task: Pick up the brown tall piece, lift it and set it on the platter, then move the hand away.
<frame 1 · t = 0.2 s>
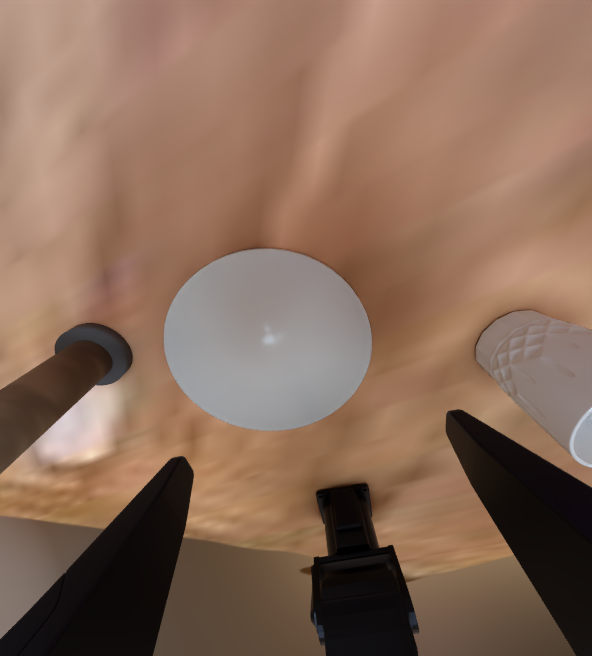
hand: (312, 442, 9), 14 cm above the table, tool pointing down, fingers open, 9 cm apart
white cup: (509, 341, 25), on the table
platter: (270, 349, 24), on the table
brown tall piece: (99, 351, 24), on the table
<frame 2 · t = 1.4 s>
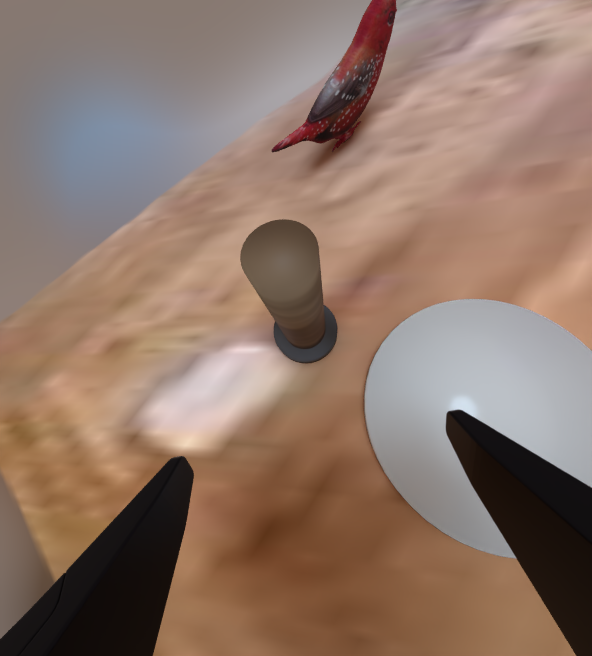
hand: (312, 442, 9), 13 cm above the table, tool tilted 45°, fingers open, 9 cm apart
platter: (482, 411, 20), on the table
decorative bird figurine: (334, 153, 30), on the table
brown tall piece: (306, 332, 24), on the table
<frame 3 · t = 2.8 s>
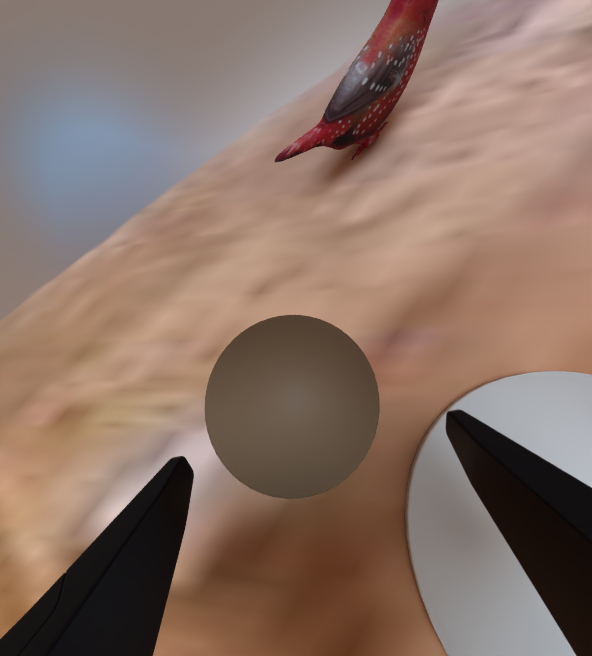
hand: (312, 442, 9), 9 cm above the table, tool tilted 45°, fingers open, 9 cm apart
platter: (586, 547, 14), on the table
decorative bird figurine: (354, 161, 24), on the table
brown tall piece: (320, 408, 18), on the table
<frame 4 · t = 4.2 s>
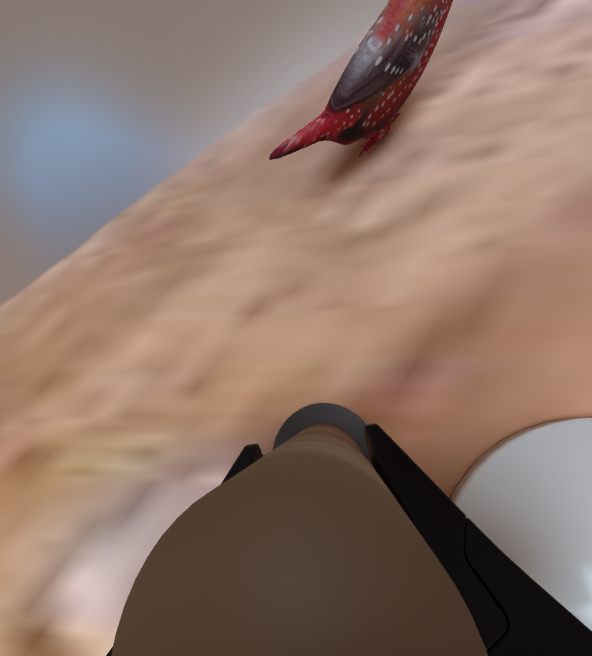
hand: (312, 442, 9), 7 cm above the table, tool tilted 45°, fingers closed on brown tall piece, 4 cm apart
decorative bird figurine: (361, 158, 21), on the table
brown tall piece: (325, 455, 15), on the table, touching gripper
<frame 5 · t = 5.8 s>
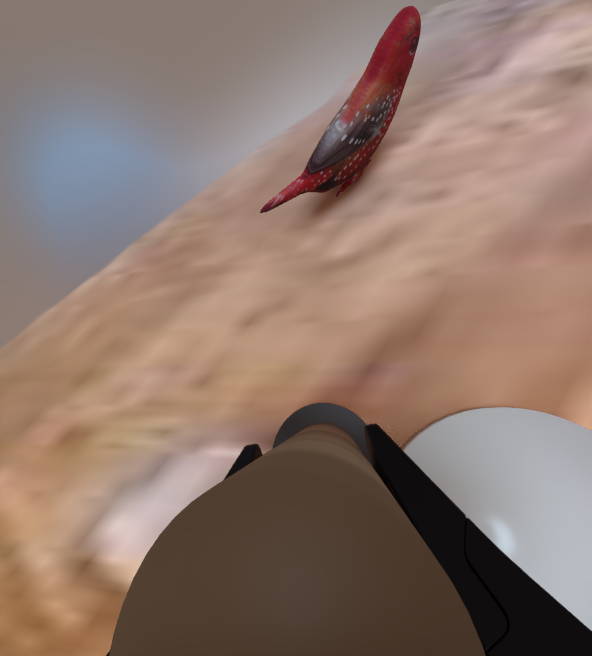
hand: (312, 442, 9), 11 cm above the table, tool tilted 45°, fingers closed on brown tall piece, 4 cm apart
platter: (526, 563, 16), on the table
decorative bird figurine: (339, 197, 26), on the table
brown tall piece: (325, 455, 15), point 5 cm above the table, touching gripper
when the fingers open (9 cm above the table, at t = 7.5 s): brown tall piece drops 1 cm, resting on platter.
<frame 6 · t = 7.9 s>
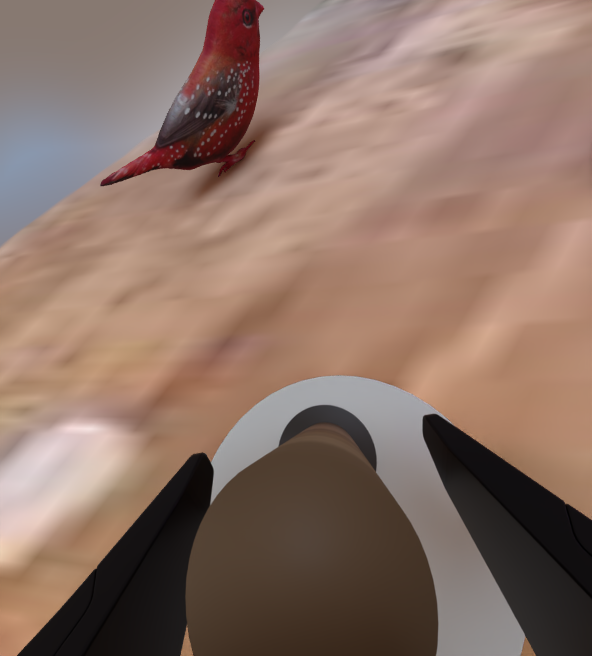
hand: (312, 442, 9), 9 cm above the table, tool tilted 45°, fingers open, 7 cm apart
platter: (344, 530, 16), on the table
decorative bird figurine: (223, 177, 26), on the table
brown tall piece: (326, 452, 16), point 1 cm above the table, touching platter
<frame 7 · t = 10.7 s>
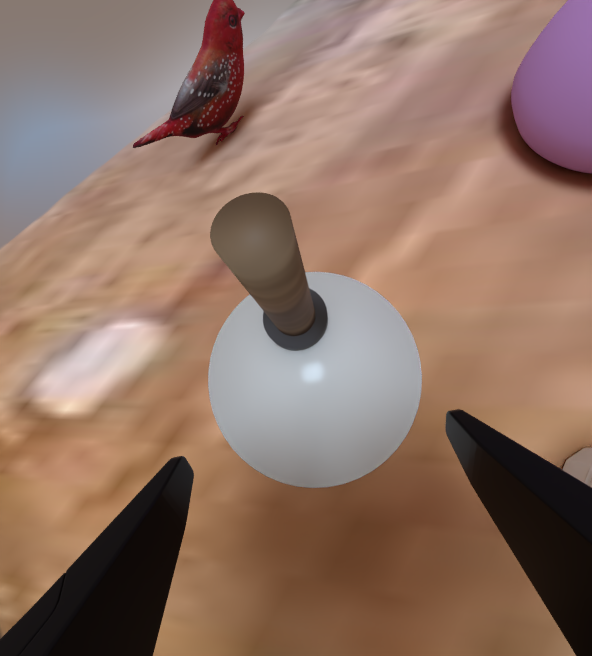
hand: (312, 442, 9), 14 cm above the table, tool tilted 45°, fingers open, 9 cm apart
platter: (309, 369, 23), on the table
decorative bird figurine: (220, 146, 33), on the table
brown tall piece: (296, 320, 24), point 1 cm above the table, touching platter
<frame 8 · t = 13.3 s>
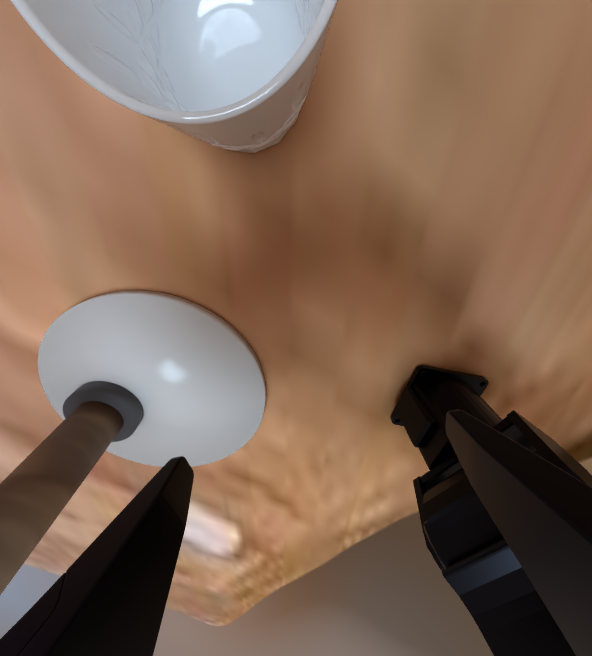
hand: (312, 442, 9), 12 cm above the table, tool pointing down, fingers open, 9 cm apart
white cup: (242, 78, 14), on the table
platter: (162, 389, 23), on the table
brown tall piece: (109, 407, 22), point 1 cm above the table, touching platter
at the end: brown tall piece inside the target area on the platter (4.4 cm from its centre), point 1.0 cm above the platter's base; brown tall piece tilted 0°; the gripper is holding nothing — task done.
